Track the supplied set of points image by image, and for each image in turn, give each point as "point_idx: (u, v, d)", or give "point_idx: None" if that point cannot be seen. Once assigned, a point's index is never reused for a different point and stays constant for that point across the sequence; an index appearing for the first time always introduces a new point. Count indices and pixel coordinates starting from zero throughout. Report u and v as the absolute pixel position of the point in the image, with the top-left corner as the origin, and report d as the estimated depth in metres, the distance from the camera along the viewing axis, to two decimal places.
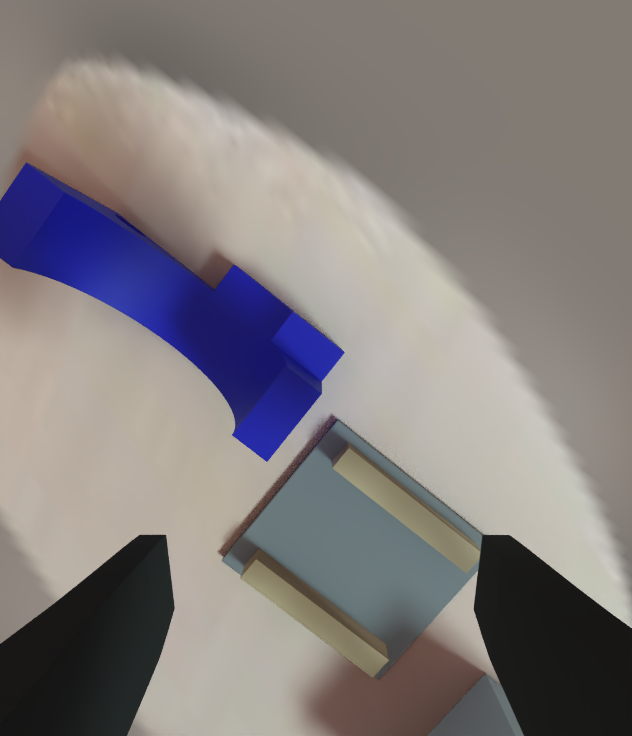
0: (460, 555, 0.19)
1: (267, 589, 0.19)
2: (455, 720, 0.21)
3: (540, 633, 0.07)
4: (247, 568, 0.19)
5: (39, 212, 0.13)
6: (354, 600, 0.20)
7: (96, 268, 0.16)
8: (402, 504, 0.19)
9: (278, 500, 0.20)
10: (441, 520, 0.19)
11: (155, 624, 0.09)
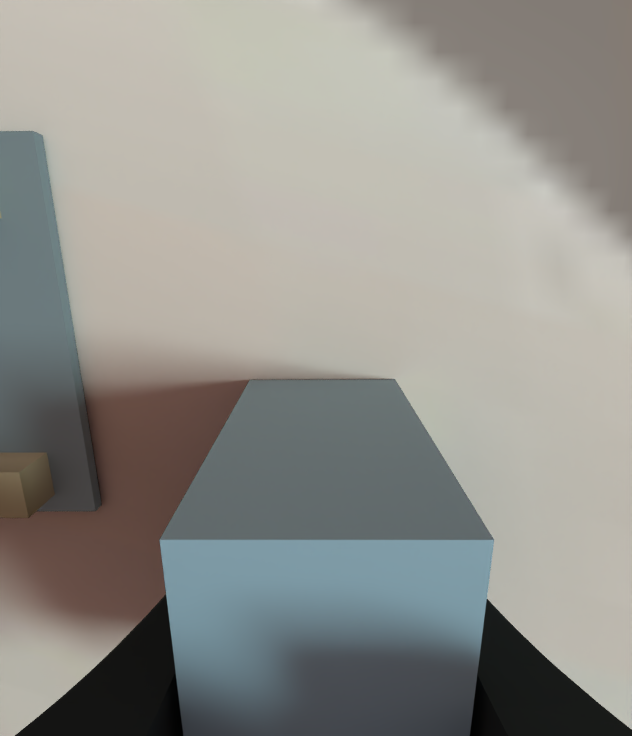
0: None
1: None
2: None
3: None
4: None
5: None
6: None
7: None
8: None
9: None
10: None
11: None
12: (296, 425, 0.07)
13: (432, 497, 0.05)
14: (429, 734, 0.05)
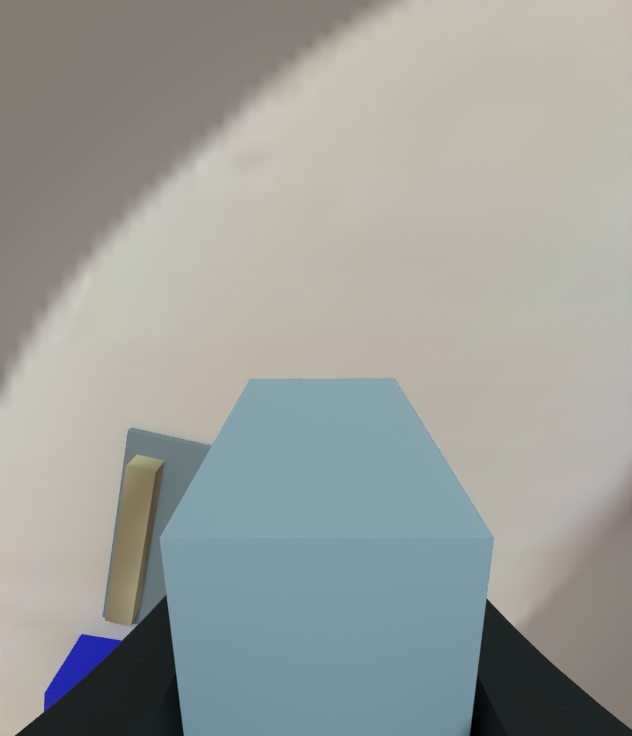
0: (140, 487, 0.17)
1: None
2: None
3: None
4: None
5: None
6: None
7: None
8: (125, 558, 0.18)
9: None
10: None
11: None
12: (295, 424, 0.07)
13: (432, 495, 0.05)
14: (429, 732, 0.05)
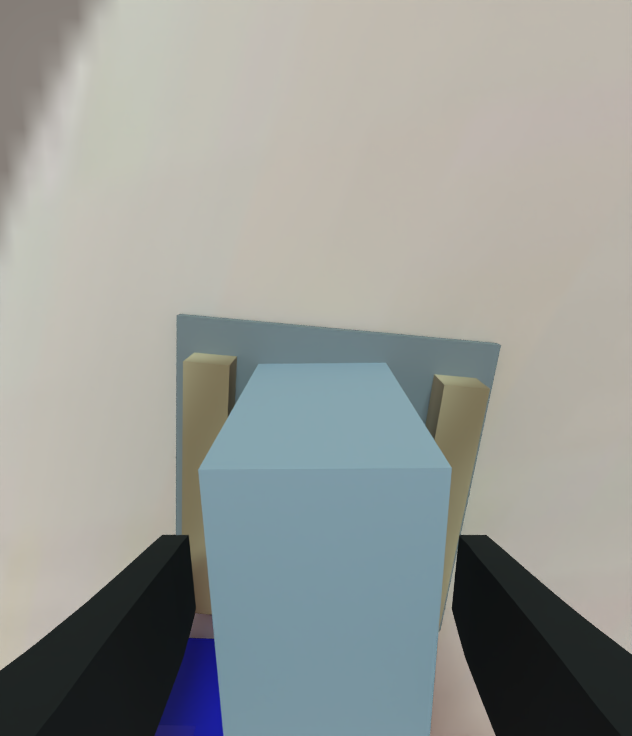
0: (209, 393, 0.11)
1: None
2: None
3: (509, 633, 0.07)
4: None
5: None
6: None
7: None
8: (200, 512, 0.12)
9: None
10: (184, 446, 0.11)
11: (179, 624, 0.09)
12: (299, 397, 0.09)
13: (408, 443, 0.07)
14: (407, 629, 0.07)
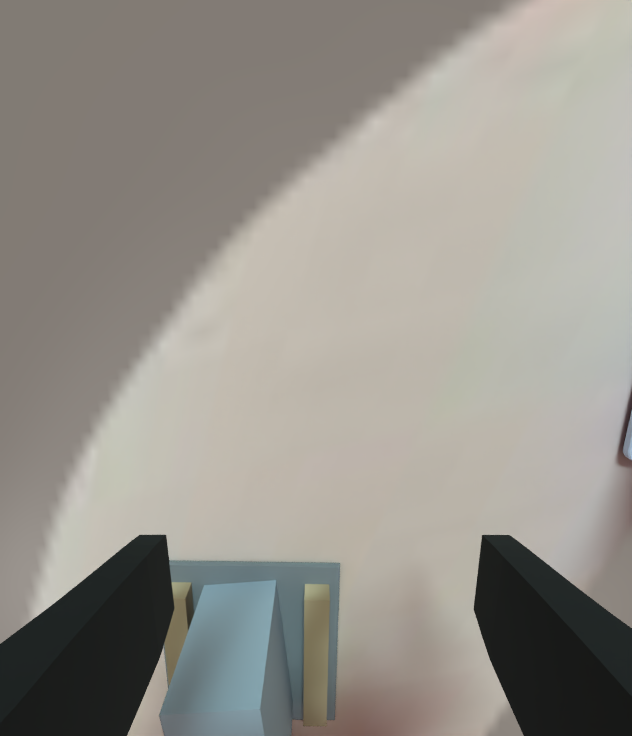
0: (175, 612, 0.20)
1: (320, 706, 0.21)
2: None
3: (540, 633, 0.07)
4: None
5: None
6: (288, 627, 0.21)
7: None
8: None
9: None
10: None
11: (155, 624, 0.09)
12: (216, 635, 0.18)
13: (251, 686, 0.15)
14: None
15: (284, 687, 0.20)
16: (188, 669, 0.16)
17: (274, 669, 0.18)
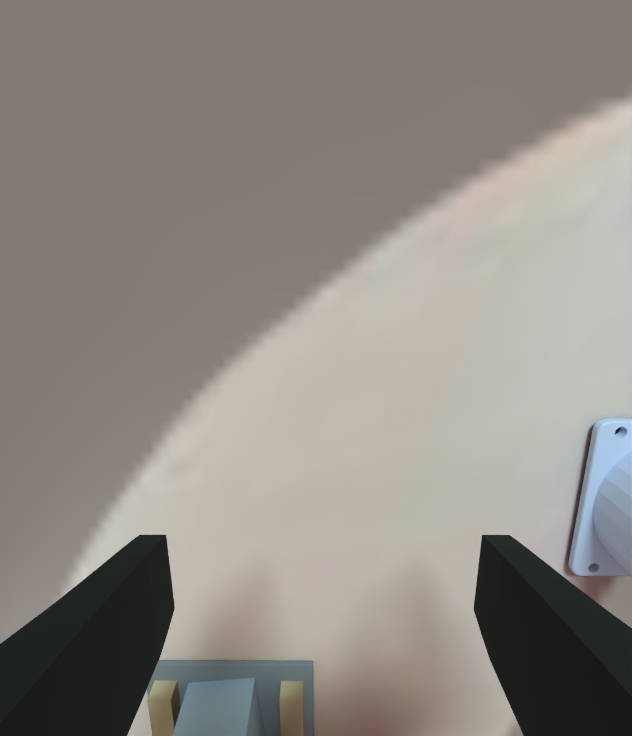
0: (162, 711, 0.21)
1: None
2: None
3: (540, 633, 0.07)
4: None
5: None
6: (267, 717, 0.23)
7: None
8: None
9: None
10: None
11: (155, 624, 0.09)
12: None
13: None
14: None
15: None
16: None
17: None
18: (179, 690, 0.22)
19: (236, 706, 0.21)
